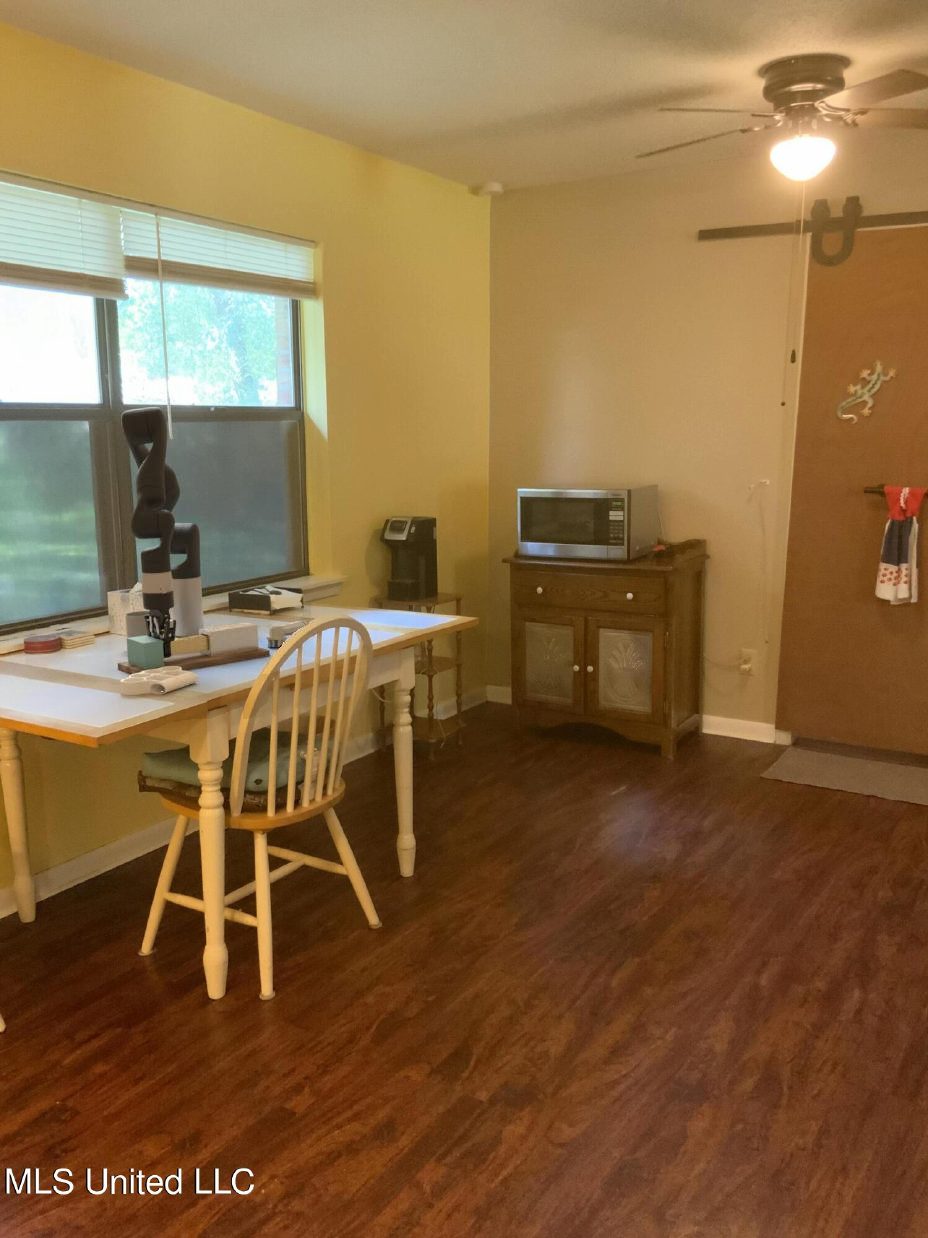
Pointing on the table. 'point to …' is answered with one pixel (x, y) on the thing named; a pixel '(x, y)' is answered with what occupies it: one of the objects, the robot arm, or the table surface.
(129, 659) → the teal rectangular block
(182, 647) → the plug
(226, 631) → the sleeve
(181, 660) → the base board
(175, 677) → the knuckle duster
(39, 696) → the table surface
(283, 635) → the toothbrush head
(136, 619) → the cup
